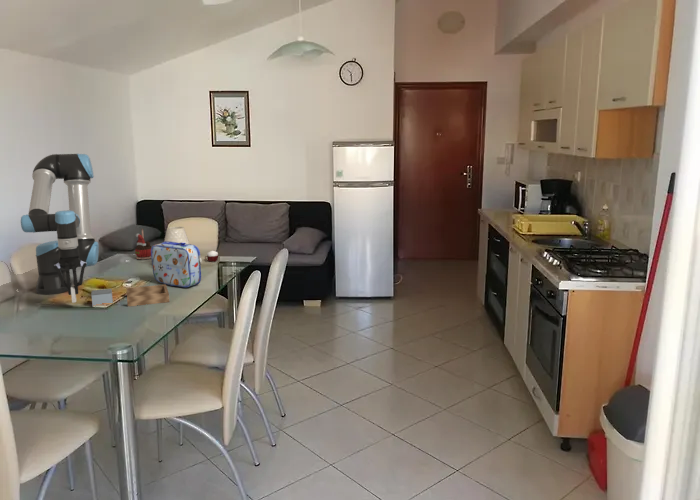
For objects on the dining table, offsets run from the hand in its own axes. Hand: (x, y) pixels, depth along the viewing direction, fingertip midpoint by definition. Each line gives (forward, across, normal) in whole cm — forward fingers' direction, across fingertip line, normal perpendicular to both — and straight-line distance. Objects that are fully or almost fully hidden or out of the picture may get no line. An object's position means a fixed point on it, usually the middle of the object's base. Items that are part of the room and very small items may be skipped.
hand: (74, 301), depth 241 cm
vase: (+2, +48, +55) cm, 73 cm away
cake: (+2, +32, +92) cm, 98 cm away
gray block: (+3, +11, 0) cm, 11 cm away
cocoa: (+2, +69, +68) cm, 97 cm away
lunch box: (+3, +45, +21) cm, 50 cm away
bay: (+3, +29, 0) cm, 29 cm away
